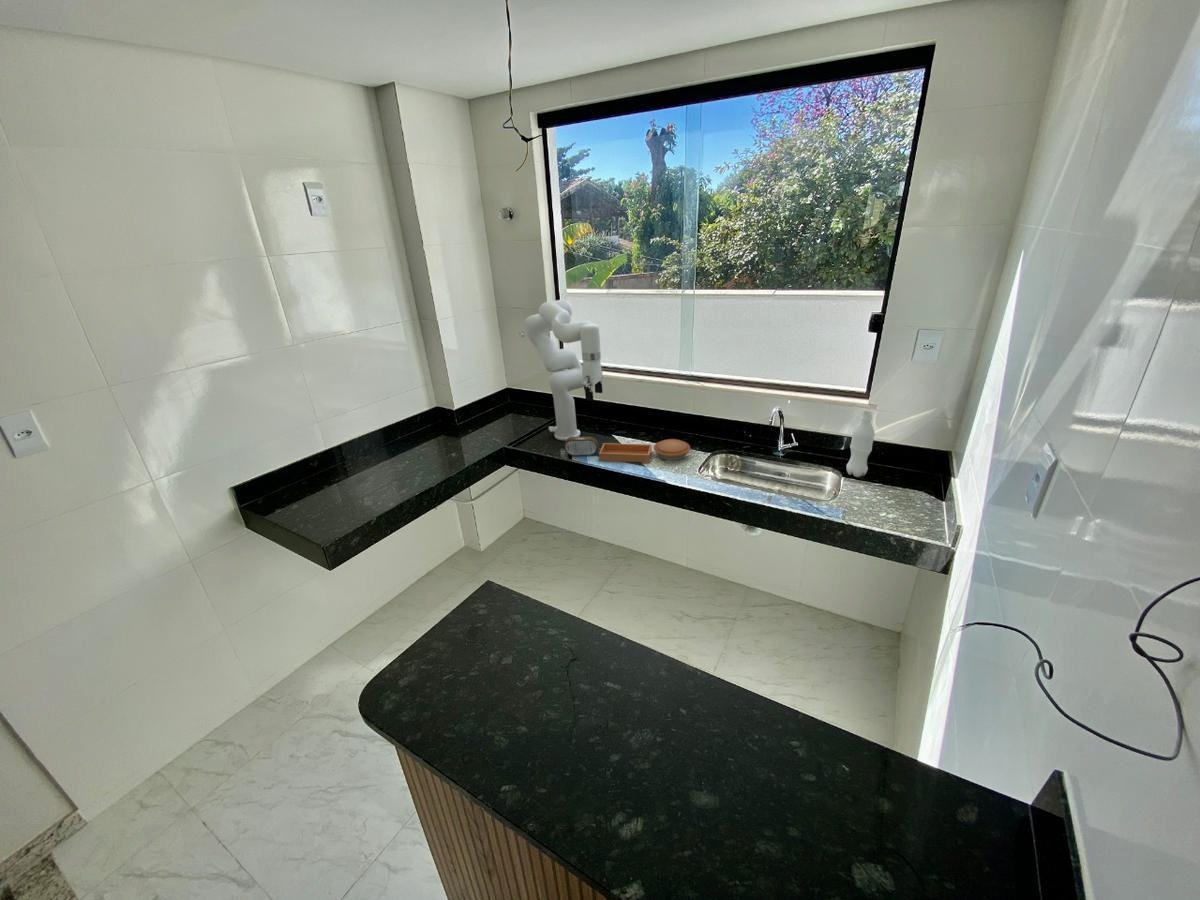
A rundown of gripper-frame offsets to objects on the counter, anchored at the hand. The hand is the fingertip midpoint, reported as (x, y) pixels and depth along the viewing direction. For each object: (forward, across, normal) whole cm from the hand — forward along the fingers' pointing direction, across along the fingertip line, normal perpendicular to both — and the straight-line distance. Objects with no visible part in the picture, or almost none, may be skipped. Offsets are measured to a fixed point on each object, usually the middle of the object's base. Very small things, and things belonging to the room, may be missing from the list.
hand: (594, 396), depth 200 cm
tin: (+27, +2, -7) cm, 28 cm away
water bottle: (+27, -11, +101) cm, 106 cm away
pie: (+27, -8, +31) cm, 42 cm away
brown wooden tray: (+27, -2, +12) cm, 30 cm away
